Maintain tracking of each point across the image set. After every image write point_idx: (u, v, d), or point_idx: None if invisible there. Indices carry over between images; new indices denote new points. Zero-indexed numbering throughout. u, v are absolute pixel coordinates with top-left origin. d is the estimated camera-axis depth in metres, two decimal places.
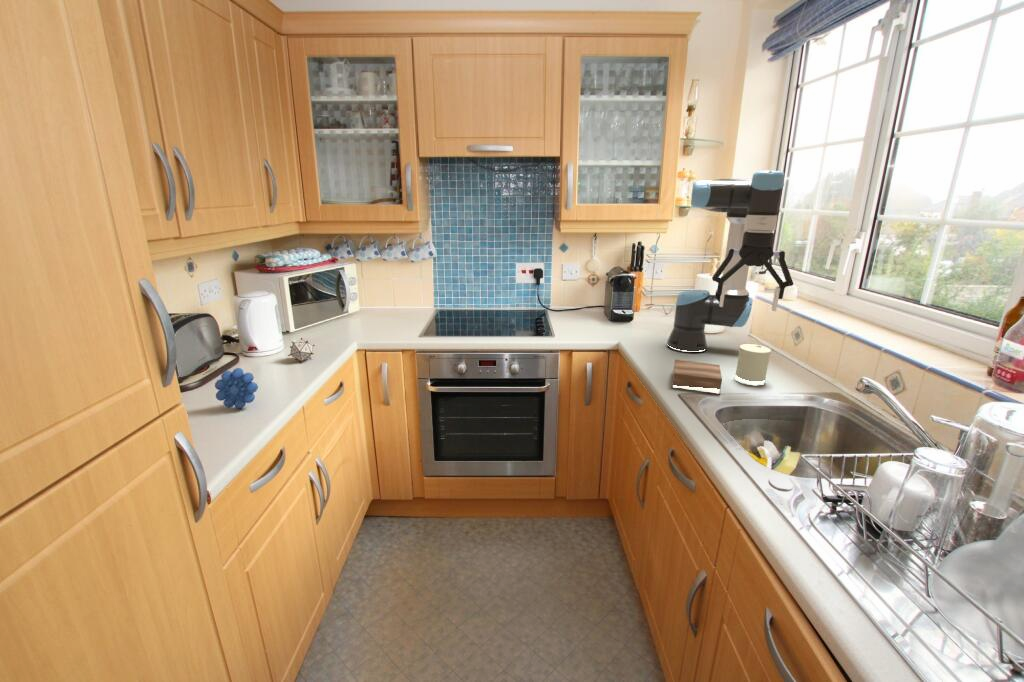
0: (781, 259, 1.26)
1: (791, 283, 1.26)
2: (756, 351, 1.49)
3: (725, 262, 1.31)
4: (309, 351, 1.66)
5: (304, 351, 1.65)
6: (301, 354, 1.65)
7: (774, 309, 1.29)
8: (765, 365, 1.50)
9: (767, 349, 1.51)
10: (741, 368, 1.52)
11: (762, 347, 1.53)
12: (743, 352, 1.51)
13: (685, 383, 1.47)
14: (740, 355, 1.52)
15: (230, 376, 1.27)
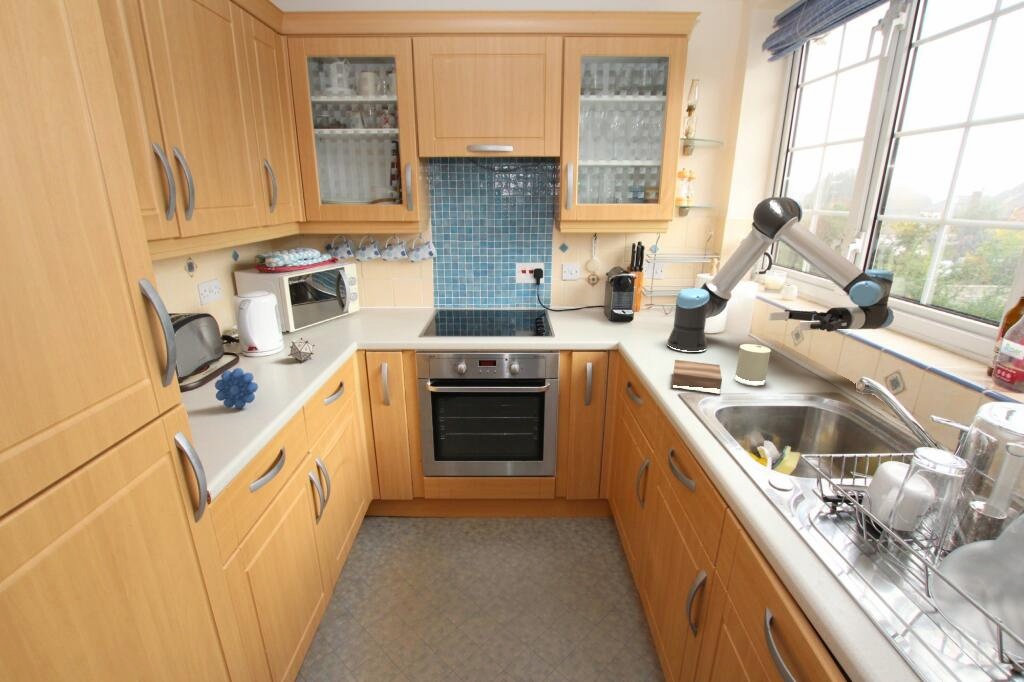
0: None
1: None
2: (756, 351, 1.49)
3: None
4: (309, 351, 1.66)
5: (304, 351, 1.65)
6: (301, 354, 1.65)
7: None
8: (765, 365, 1.50)
9: (767, 349, 1.51)
10: (741, 368, 1.52)
11: (762, 347, 1.53)
12: (743, 352, 1.51)
13: (685, 383, 1.47)
14: (740, 355, 1.52)
15: (230, 376, 1.27)
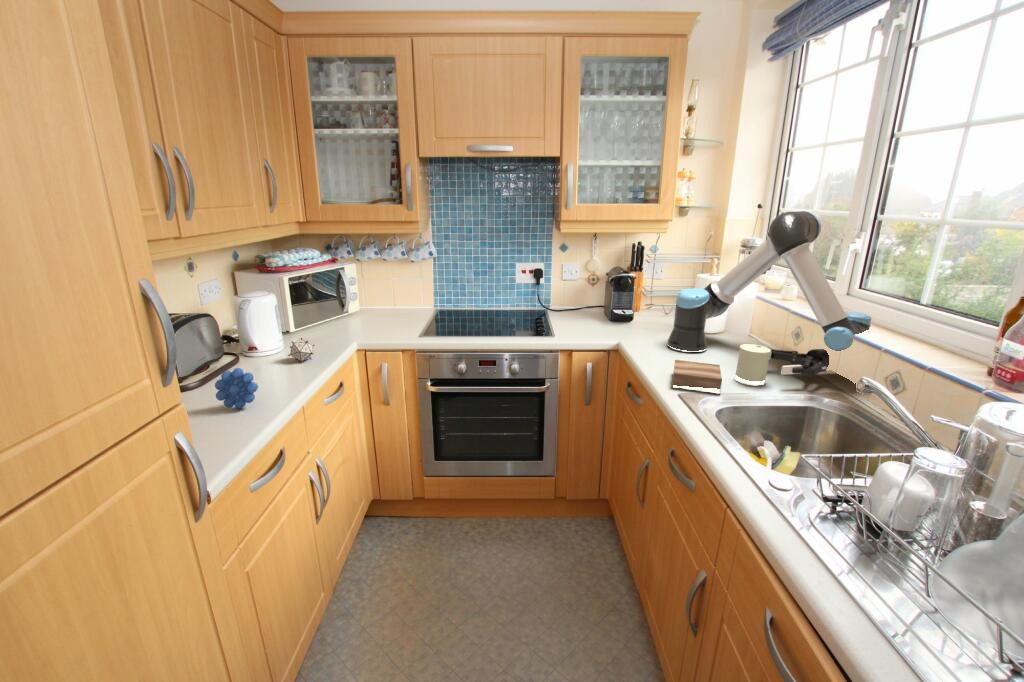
0: None
1: None
2: (756, 351, 1.49)
3: None
4: (309, 351, 1.66)
5: (304, 351, 1.65)
6: (301, 354, 1.65)
7: None
8: (765, 365, 1.50)
9: (767, 349, 1.51)
10: (741, 368, 1.52)
11: (762, 347, 1.53)
12: (743, 352, 1.51)
13: (685, 383, 1.47)
14: (740, 355, 1.52)
15: (230, 376, 1.27)
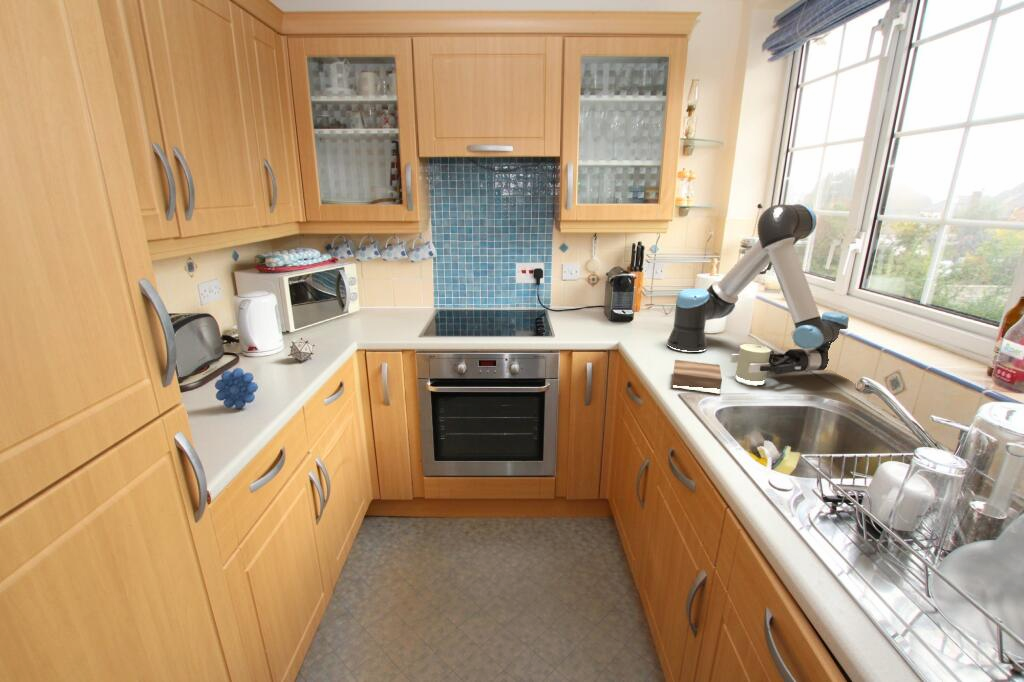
0: None
1: None
2: (756, 351, 1.49)
3: None
4: (309, 351, 1.66)
5: (304, 351, 1.65)
6: (301, 354, 1.65)
7: None
8: None
9: (767, 349, 1.51)
10: (741, 368, 1.52)
11: (762, 347, 1.53)
12: (743, 351, 1.51)
13: (685, 383, 1.47)
14: (740, 354, 1.52)
15: (230, 376, 1.27)
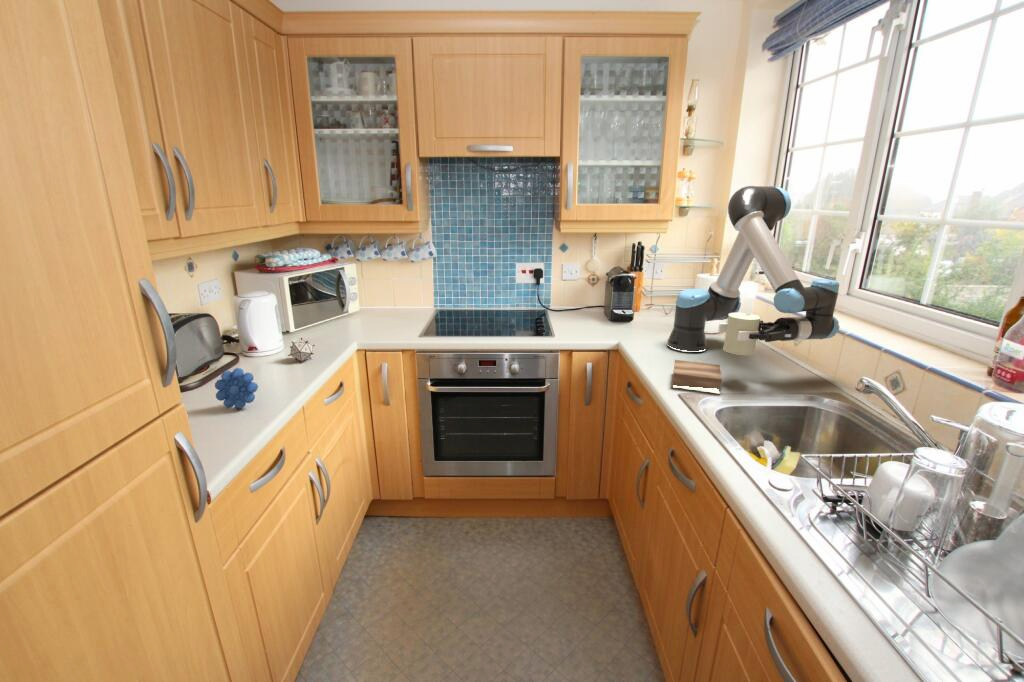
0: None
1: None
2: (745, 318, 1.43)
3: None
4: (309, 351, 1.66)
5: (304, 351, 1.65)
6: (301, 354, 1.65)
7: None
8: None
9: (756, 316, 1.45)
10: (730, 337, 1.46)
11: (751, 315, 1.47)
12: (732, 319, 1.45)
13: (685, 383, 1.47)
14: (729, 323, 1.47)
15: (230, 376, 1.27)
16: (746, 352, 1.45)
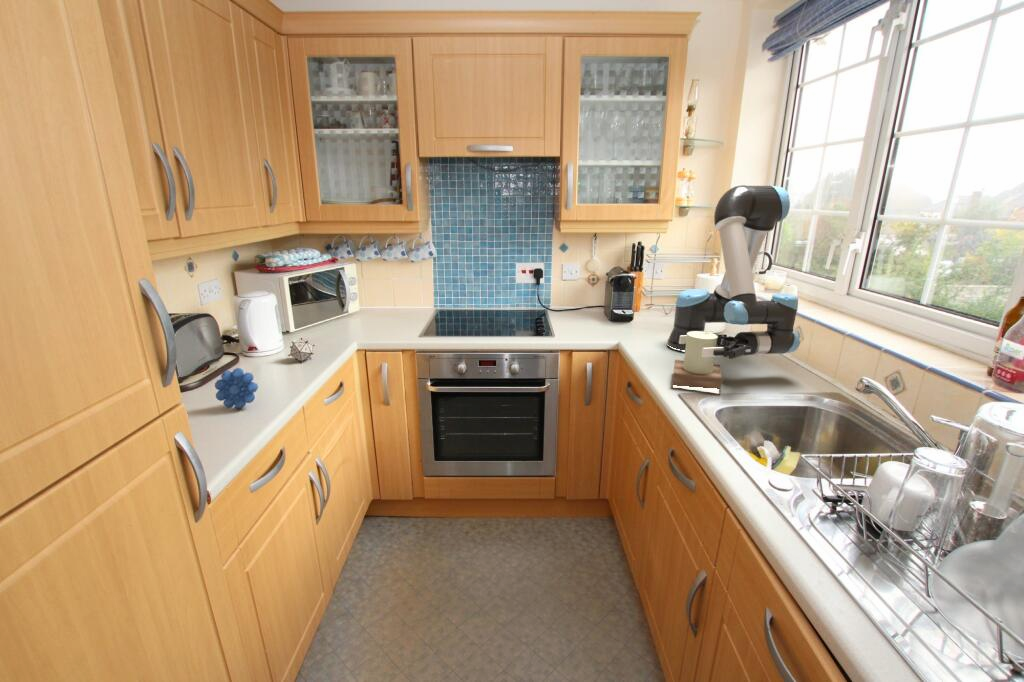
0: None
1: None
2: (702, 337, 1.45)
3: None
4: (309, 351, 1.66)
5: (304, 351, 1.65)
6: (301, 354, 1.65)
7: None
8: None
9: (714, 336, 1.47)
10: (688, 355, 1.48)
11: (710, 334, 1.49)
12: (689, 338, 1.47)
13: (685, 383, 1.47)
14: (687, 342, 1.48)
15: (230, 376, 1.27)
16: (704, 371, 1.46)
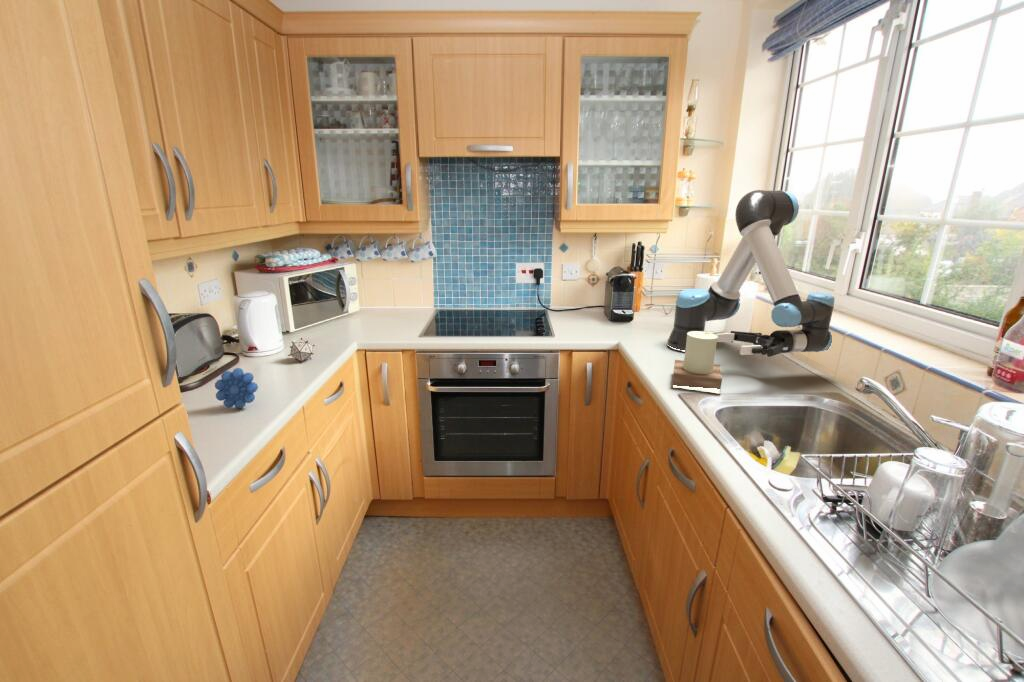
0: None
1: None
2: (702, 338, 1.45)
3: None
4: (309, 351, 1.66)
5: (304, 351, 1.65)
6: (301, 354, 1.65)
7: None
8: (711, 352, 1.45)
9: (714, 336, 1.47)
10: (688, 355, 1.48)
11: (710, 334, 1.49)
12: (689, 338, 1.47)
13: (685, 383, 1.47)
14: (687, 341, 1.48)
15: (230, 376, 1.27)
16: (704, 371, 1.47)
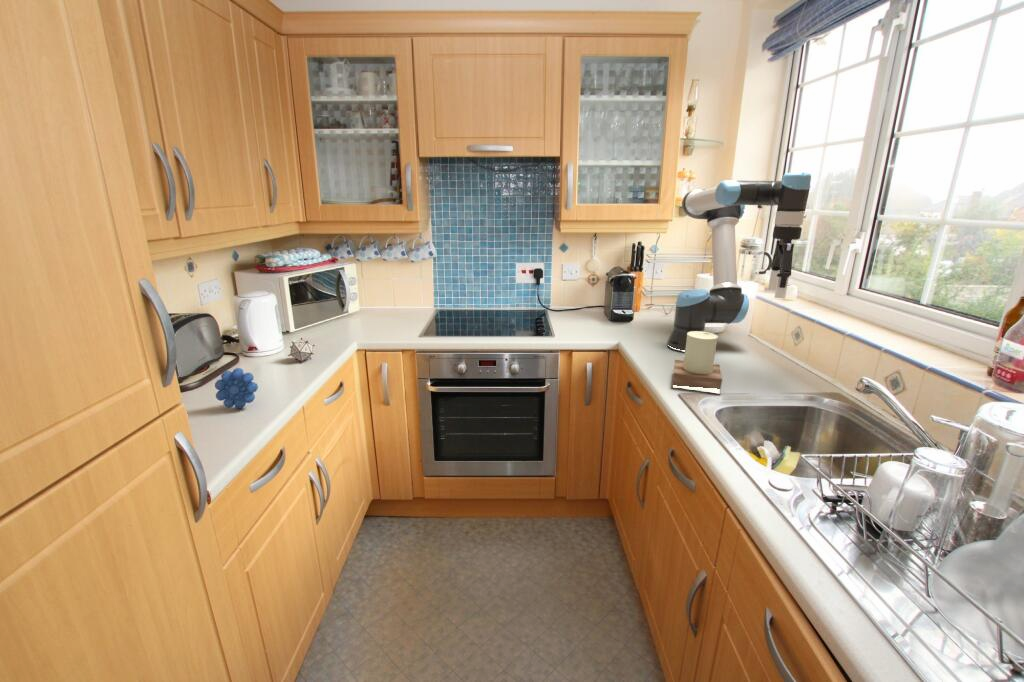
0: None
1: None
2: (702, 338, 1.45)
3: None
4: (309, 351, 1.66)
5: (304, 351, 1.65)
6: (301, 354, 1.65)
7: None
8: (711, 352, 1.45)
9: (714, 336, 1.47)
10: (688, 355, 1.48)
11: (710, 334, 1.49)
12: (689, 338, 1.47)
13: (685, 383, 1.47)
14: (687, 341, 1.48)
15: (230, 376, 1.27)
16: (704, 371, 1.47)
